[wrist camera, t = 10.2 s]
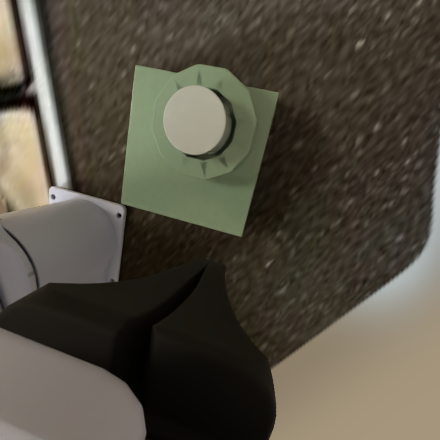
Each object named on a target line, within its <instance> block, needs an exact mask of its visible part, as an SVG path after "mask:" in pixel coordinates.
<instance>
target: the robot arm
mask: <svg viewBox="0 0 440 440" xmlns="http://www.w3.org/2000/svg"><path fill="white" fill-rule="evenodd" d="M54 195H55V196H56V198H55V196H54ZM119 213H120V214H121V217H120V216H119ZM125 219H126V207H125V206H124V205H122V204H118V203H115V202H111V201H107V200H104V199H100V198H97V197H93V196H90V195H86V194H82V193H79V192H75V191H72V190H68V189H64V188H61V187H57V186H53V187H51V188H50V190H49V204H47V205H42V206H37V207H33V208H28V209H23V210H18V211H13V212H9V213H4V214H0V440H269V438H270V435H271V433H272V430H273V428H274V424H275V418H276V400H275V391H274V384H273V379H272V374H271V369H270V364H269V361H268V359H267V358H266V357H265V355H264V354H263V353H262V352H261V351H260V350H259V349H258V348H257V347H256V346H255V345H254V344H253V342H252V341H251V340H250V339H249V337H248V336H247V335H246V333H245V332H244V330H243V329H242V327H241V325H240V324H239V322H238V320H237V318H236V316H235V314H234V312H233V309H232V307H231V304H230V301H229V298H228V294H227V290H226V284H225V270H226V267H225V265H223V264H220V263H216V262H213V261H210V260H207V259H203V258H200V257H199V258H196V259H194V260H192V261H189V262H187V263H185V264H182V265H180V266H178V267H175V268H172V269H169V270H167V271H164V272H161V273H158V274H154V275H151V276H147V277H142V278H137V279H131V280H124V281H119V272H120V263H121V255H122V246H123V237H124V228H125ZM112 279H113V280H114V281H113V280H112Z"/></svg>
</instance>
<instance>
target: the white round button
mask: <svg viewBox="0 0 440 440" xmlns="http://www.w3.org/2000/svg"><path fill="white" fill-rule="evenodd" d="M163 121H164V129H165V132H166V135H167V137H168V139H169V141H170V142H171V143H172V145H173V146H174V147H175V148H177V149H178V150H179V151H181V152H183V153H186V154H190V155H210V154H213V153H215V152H217V151H219V150H220V149H221V148H222V147H223V146H224V145H225V144H226V142H227V141H228V139H229V136H230V133H231V128H232V121H231V115H230V113H229V110H228V108H227V107H226V105H225V104H224V103H223V102H222V101H221V99H220V98H219V97H218V96H217V95H216V94H215V93H214V92H213V91H211V90H210V89H208V88H206V87H203V86H199V85H191V86H186V87H184V88H182V89H180V90H178V91H177V92H176V93H175V94H174V95H173V96H172V97H171V98H170V100H169V101H168V103H167V105H166V108H165V111H164V118H163Z"/></svg>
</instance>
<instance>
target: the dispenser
mask: <svg viewBox="0 0 440 440" xmlns="http://www.w3.org/2000/svg"><path fill="white" fill-rule="evenodd" d="M191 85H199V86H203V87H206V88H208V89H210V90H211V91H213V92H214V93H215V94H216V95H217V96H218V97H219V98H220V99H221V101H222V102H223V103H224V104H225V105H226V107H227V108H228V110H229V113H230V115H231V121H232V128H231V133H230V136H229V139H228V141H227V142H226V144H225V145H224V146H223V147H222V148H221V149H220V150H219V151H217V152H215V153H213V154H210V155H190V154H186V153H183V152H181V151H179V150H178V149H177V148H175V147H174V146H173V145H172V143H171V142H170V141H169V139H168V137H167V135H166V132H165V129H164V121H163V118H164V111H165V108H166V105H167V103H168V101H169V100H170V98H171V97H172V96H173V95H174V94H175V93H176V92H177V91H178V90H180V89H182V88H184V87H186V86H191ZM278 99H279V92H274V91H269V90H263V89H258V88H253V87H248V86H244V85H243V84H242V83H241V82H240V81H239V80H238V79H237V78H236V77H235V76H234V75H233V74H232V73H231V72H230V71H229V70H227V69H225V68H220V67H215V66H209V65H204V64H196V65H194V66H192V67H190V68H187V69H185V70H183V71H181V72H178V73H175V72H170V71H165V70H159V69H154V68H149V67H144V66H139V65H136V66H135V76H134V85H133V94H132V104H131V113H130V123H129V132H128V141H127V151H126V160H125V170H124V179H123V188H122V198H121V204H124V205H128V206H132V207H135V208H139V209H142V210H146V211H150V212H153V213H157V214H160V215H164V216H168V217H171V218H175V219H178V220H182V221H186V222H189V223H193V224H196V225H200V226H203V227H207V228H211V229H214V230H218V231H221V232H225V233H229V234H232V235H236V236H239V237H242V235H243V232H244V229H245V227H246V223H247V219H248V216H249V212H250V208H251V204H252V200H253V196H254V193H255V189H256V185H257V181H258V177H259V174H260V170H261V166H262V162H263V158H264V155H265V151H266V147H267V143H268V139H269V136H270V132H271V128H272V124H273V120H274V117H275V113H276V109H277V105H278Z"/></svg>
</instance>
